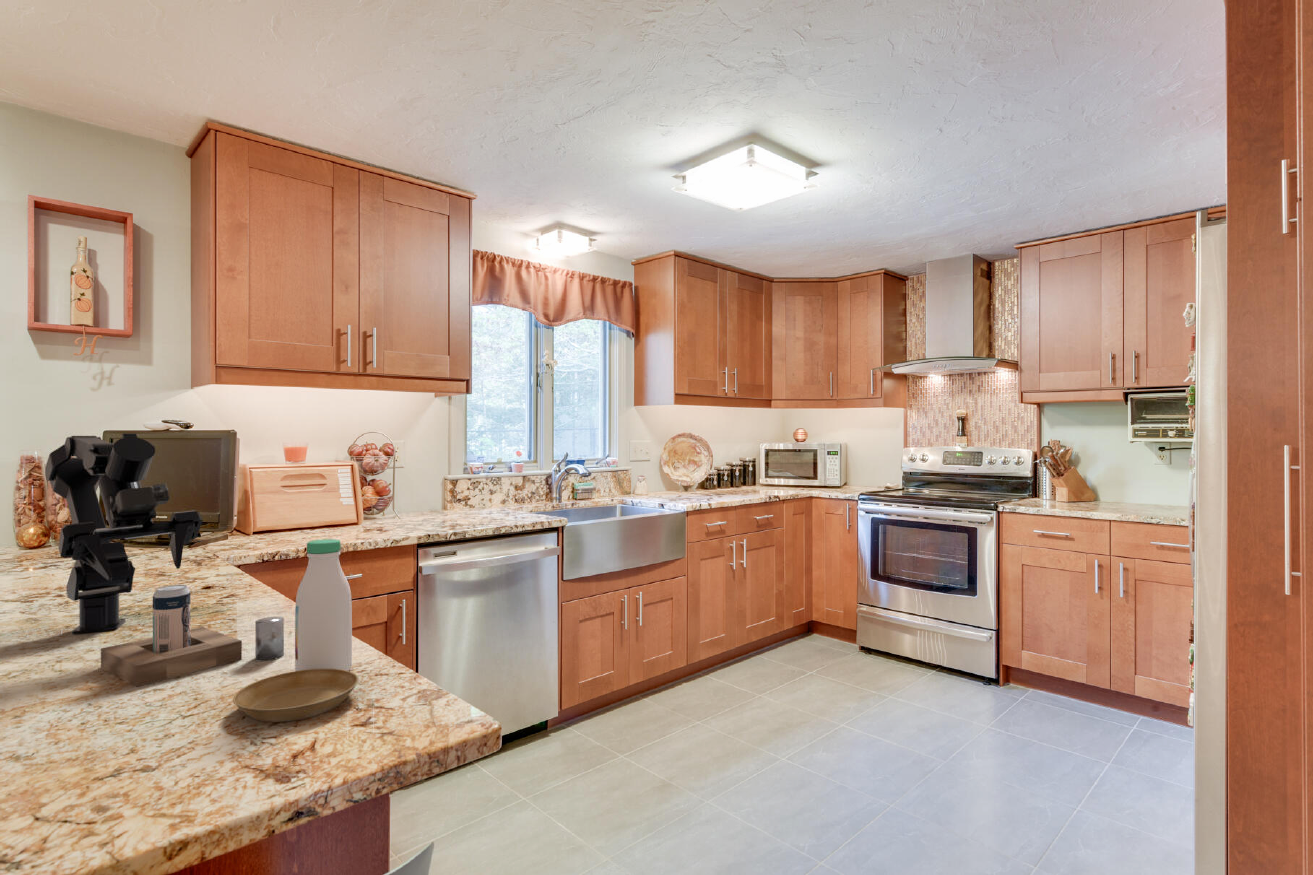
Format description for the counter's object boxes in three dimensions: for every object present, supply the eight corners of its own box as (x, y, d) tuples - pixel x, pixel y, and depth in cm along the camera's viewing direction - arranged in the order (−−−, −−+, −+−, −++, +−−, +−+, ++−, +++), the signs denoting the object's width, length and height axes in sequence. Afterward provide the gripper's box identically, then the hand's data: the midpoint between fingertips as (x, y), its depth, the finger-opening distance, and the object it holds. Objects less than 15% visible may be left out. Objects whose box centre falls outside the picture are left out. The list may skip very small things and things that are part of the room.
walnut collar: (100, 667, 102) (100, 648, 102) (202, 644, 114) (202, 626, 114) (136, 686, 95) (136, 665, 95) (241, 659, 106) (241, 640, 106)
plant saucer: (211, 712, 86) (211, 692, 86) (322, 678, 98) (322, 660, 98) (268, 741, 78) (268, 719, 78) (380, 700, 90) (380, 681, 90)
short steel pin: (256, 654, 108) (256, 618, 108) (284, 651, 110) (284, 615, 110) (254, 662, 105) (254, 624, 105) (283, 658, 107) (283, 621, 107)
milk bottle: (363, 666, 103) (363, 538, 103) (323, 684, 95) (323, 546, 95) (324, 661, 105) (324, 536, 105) (282, 677, 98) (282, 543, 98)
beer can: (195, 661, 105) (195, 586, 105) (159, 670, 101) (159, 592, 101) (183, 656, 108) (182, 582, 108) (148, 664, 104) (147, 588, 104)
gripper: (58, 474, 104) (77, 553, 98) (196, 465, 118) (221, 533, 112) (51, 518, 109) (68, 596, 103) (184, 504, 124) (207, 572, 117)
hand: (145, 572), depth 109 cm, fingers open, 9 cm apart
